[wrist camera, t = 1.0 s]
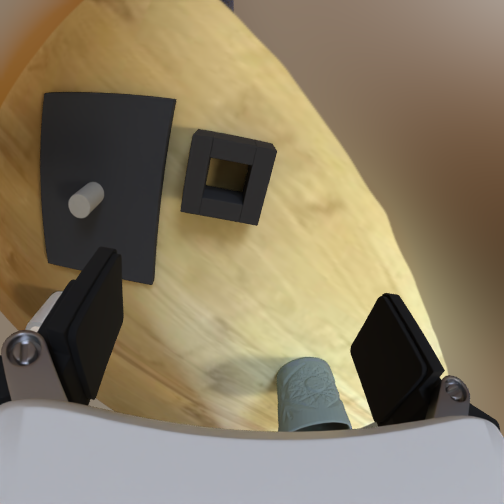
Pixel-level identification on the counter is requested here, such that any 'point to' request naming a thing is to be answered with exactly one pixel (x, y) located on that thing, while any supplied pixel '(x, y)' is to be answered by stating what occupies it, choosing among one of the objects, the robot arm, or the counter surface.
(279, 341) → the counter surface
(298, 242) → the counter surface
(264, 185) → the black square frame
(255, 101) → the counter surface
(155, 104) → the base pad
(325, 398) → the grey green embossed cup
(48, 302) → the white short cylinder
